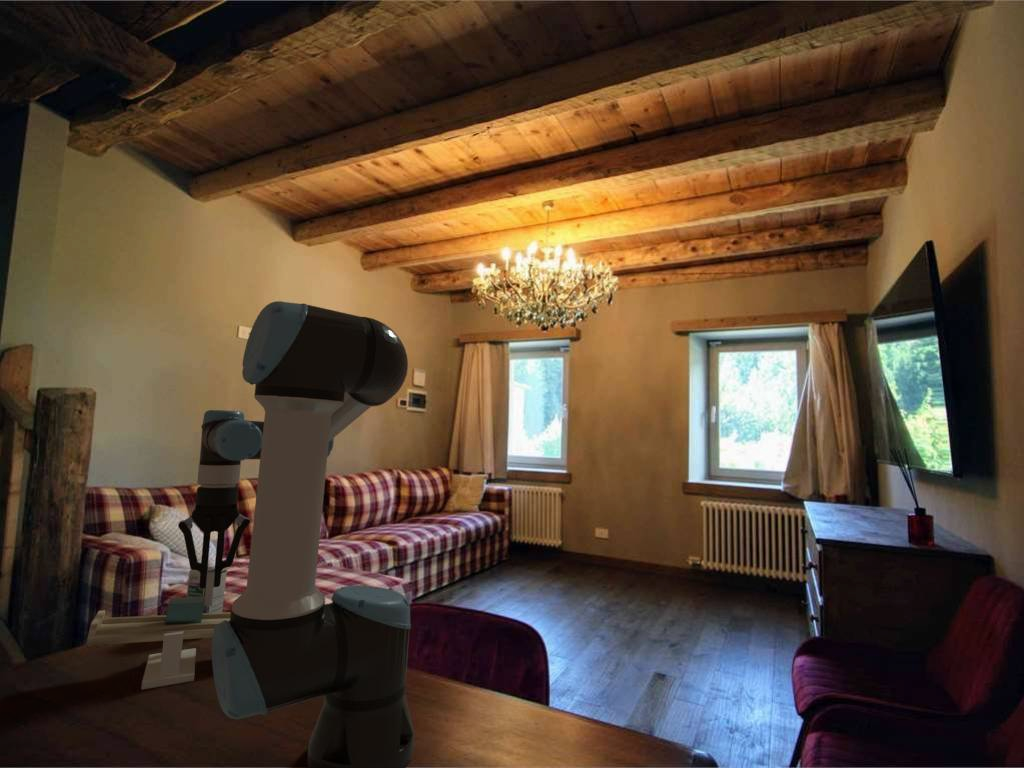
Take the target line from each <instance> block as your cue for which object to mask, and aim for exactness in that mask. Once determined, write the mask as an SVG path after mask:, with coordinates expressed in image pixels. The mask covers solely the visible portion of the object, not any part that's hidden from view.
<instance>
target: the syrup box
mask: <svg viewBox="0 0 1024 768" xmlns="http://www.w3.org/2000/svg"><path fill="white" fill-rule="evenodd" d="M208 569H215V565H210V564H208ZM227 574H228V567H226V568H224V569H223V570H222V571H221V581H220V586H219V587H213V599H212V606H205V607H204V609H203V613H223V608H224V600H225V591H226V583H227ZM187 579H188V581H187V587H186V588H187V590H186V597H205V591H206V588H203V589H200V587H199V584H200V572H199V571H197V570H191V569H190V570H189V572H188V578H187Z"/></svg>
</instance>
